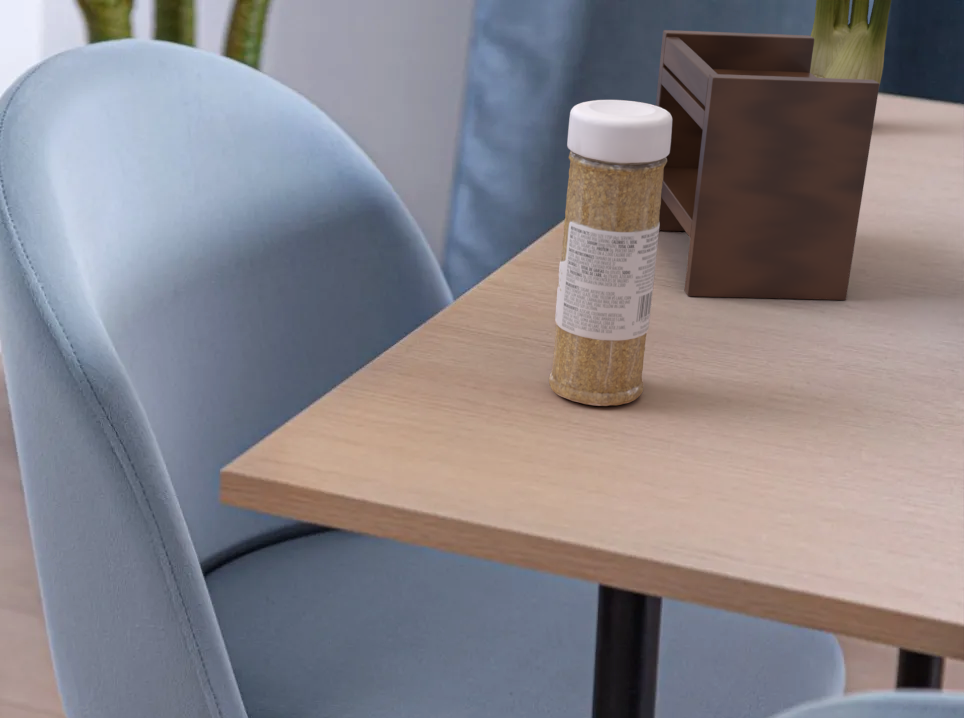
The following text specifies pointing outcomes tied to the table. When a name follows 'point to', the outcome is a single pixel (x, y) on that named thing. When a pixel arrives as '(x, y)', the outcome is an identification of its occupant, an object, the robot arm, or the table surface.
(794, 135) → the rack
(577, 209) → the spice jar
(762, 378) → the table surface
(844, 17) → the fennel bulb
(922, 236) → the table surface
